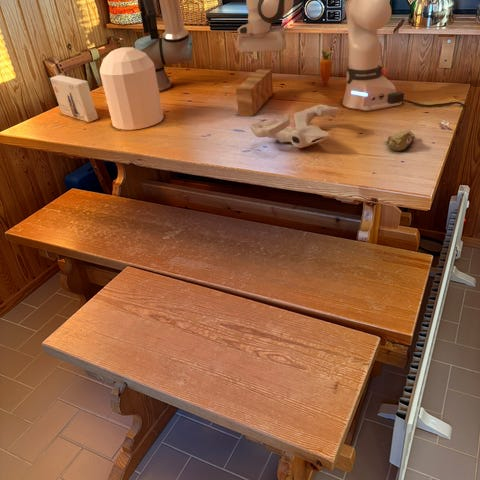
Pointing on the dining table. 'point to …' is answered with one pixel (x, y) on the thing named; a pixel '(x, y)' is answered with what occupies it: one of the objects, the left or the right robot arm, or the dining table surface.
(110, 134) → the dining table surface
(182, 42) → the left robot arm
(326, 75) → the carrot
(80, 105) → the skincare box
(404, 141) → the rock
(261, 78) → the box
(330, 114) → the beige branched piece
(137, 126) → the container
